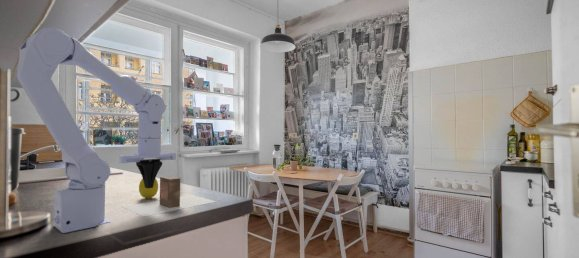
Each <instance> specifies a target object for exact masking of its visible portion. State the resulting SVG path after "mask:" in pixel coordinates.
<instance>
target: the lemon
mask: <svg viewBox="0 0 579 258" xmlns="http://www.w3.org/2000/svg"><path fill="white" fill-rule="evenodd" d="M158 190H159V181H158V180H157V178H155V181H154V185H153V188H145V186H144V181H143V178H141V180H140V182H139V185H138V192H139V194H140V196H141V197H143V198H145V199H146V200H151V199H152V198H154V197H155V196H156V195H157V193H158Z"/></svg>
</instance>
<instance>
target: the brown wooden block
mask: <svg viewBox="0 0 579 258" xmlns="http://www.w3.org/2000/svg"><path fill="white" fill-rule="evenodd" d="M180 197H181V178H180V177H176V176H172V175H165V176H160V177H159V200H160V205H163V206H166V207H168V208H173V207H178V206H180Z"/></svg>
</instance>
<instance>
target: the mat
mask: <svg viewBox="0 0 579 258" xmlns="http://www.w3.org/2000/svg"><path fill="white" fill-rule="evenodd" d="M212 203H217V201H215V200H212V199H208V198H204V197H201V196H198V195H194V194H187V195H182V196H181V195H180V206H178V207H173V208H168V207H166V206H163V205H160V199H158V200H153V201H147V202H141V203H135V204H129V205H123V206H121V207H122V208H123V209H126V210H128V211H129V212H133V213H135V214H136V215H139V216H141V217H149V216H155V215H158V214H165V213H168V212H169V213H170V212H173V211H178V210H185V209H187V208H188V209H189V208H193V207H198V206H202V205H208V204H212Z"/></svg>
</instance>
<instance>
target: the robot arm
mask: <svg viewBox="0 0 579 258" xmlns="http://www.w3.org/2000/svg"><path fill="white" fill-rule="evenodd" d="M18 50H19V57H18V63H17V69H16V70H17V71H16V78H17V81H18V83H20V86H21V87H22V89H23V90H24V92H25V94H26V96H27V97H28V99H29V101H30V102H31V104H32V105H33V107H34V109H35V110H36V112H37V114H38V115H39V117H40V119H41V120H42V122H43V124H44V125H45V128H46V129H47V131H48V132H49V134H50V135H51V137H52V138H53V140H54V142H55V143H56V146H57V147H58V148H59V150H60V152H61V160H62V162H63V164H64V173H65V176H66V178H67V179H69V183H68V187H67V188H63V189H58V190H56V191H55V194H54V209H53V211H54V216H53V218H54V221H53V227H55V228H56V229H57V230H58V231H59V232H61V233H62V234H66V233H71V232H76V231H81V230H86V229H89V228H95V227H99V225H104V224H110V223H112V221H111V220H109V219H108V218H106V217H105V215H106V182H107V180H108V179H109V177H110V175H111V168H110V166H109V163H108V162H107V161H105V160H104V159H102V158H101V157H100V156H99V154H98V153H97V151H96V150H95V149H93V148H92V146H90V145H89V144H88V142H87V140H86V139H85V136H83V133H82V131H81V130H80V128H79V126H78V125H77V122H76V121H75V119H74V117H73V116H72V114H71V112H70V110H69V108H68V107H67V104H66V103H65V101H64V99H63V98H62V96H61V93H59V90H58V89H57V87H56V86H55V84H54V82H53V80H52V77H53V75H54V73H55V72H56V70H57V68H58V67H59V65H67V66H78V67H79V68H81V69H83V70H84V71H86V72H87V73H89V74H90V75H93V76H94V77H95V78H98V79H99V80H101V81H102V82H104V83H106V84H108V85H109V86H110V90H111V93H112V94H113V95H115V96H117V97H118V98H120V99H121V100H123V101H124V102H126V103H127V104H129V105H130V106H132V107H133V108H134V110H135V112H136V113H137V114H138V122H137V123H138V124H137V125H138V128H137V132H138V133H137V137H138V138H137V139H138V140H137V153H136V154H135V153H134V154H120V155H119V163H120V164H128V163H135V164H136V167H137V168H138V170H139V173H140V174H141V177H142V178H141V179H143V181H144V186H145V188H153V185H154V181H155V178H156V177H157V175H158V173H159V171H160V169H161V168H162V166H163V161H169V160H172V161H176V157H177V155H176V154H177V153H176V152H161V151H162V149H161V148H162V120H163V115H164V113H165V111H166V110H167V105H166V104H165V101H164V99H163V98H162V96H160V95H158V94H155V93H152V91H151V89H149V88H146V87H144V86H143V85H141V84H140V83H139V82H137V78H135V77H134V76H129V75H126V74H124V75H120V74H118V73H117V72H116V71H115V70H114V69H113V68H111V67H110V66H109V65H107V64H106V63H104V61H102V60H101V59H100V58H98V57H97V56H96V55H94V54H93V53H92V52H90V51H89V50H88V49H87V48H86V47H85V46H84V45H83V44H82V43H81V42H80V41H79V40H77V39H76V38H74V37H73V36H72V37H71V36H70V35H69V34H68V33H67V32H65V31H64V30H62V29H60V28H57V27H53V26H51V27H50V26H49V27H44V28H42V29H40V30H39V31H38V32H37V33H35V34H32V35H30V36H28V37H27V38H26V39H25V40H24V42H23V43H22V44H21V46H20V47H19V49H18ZM156 179H157V178H156Z"/></svg>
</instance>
